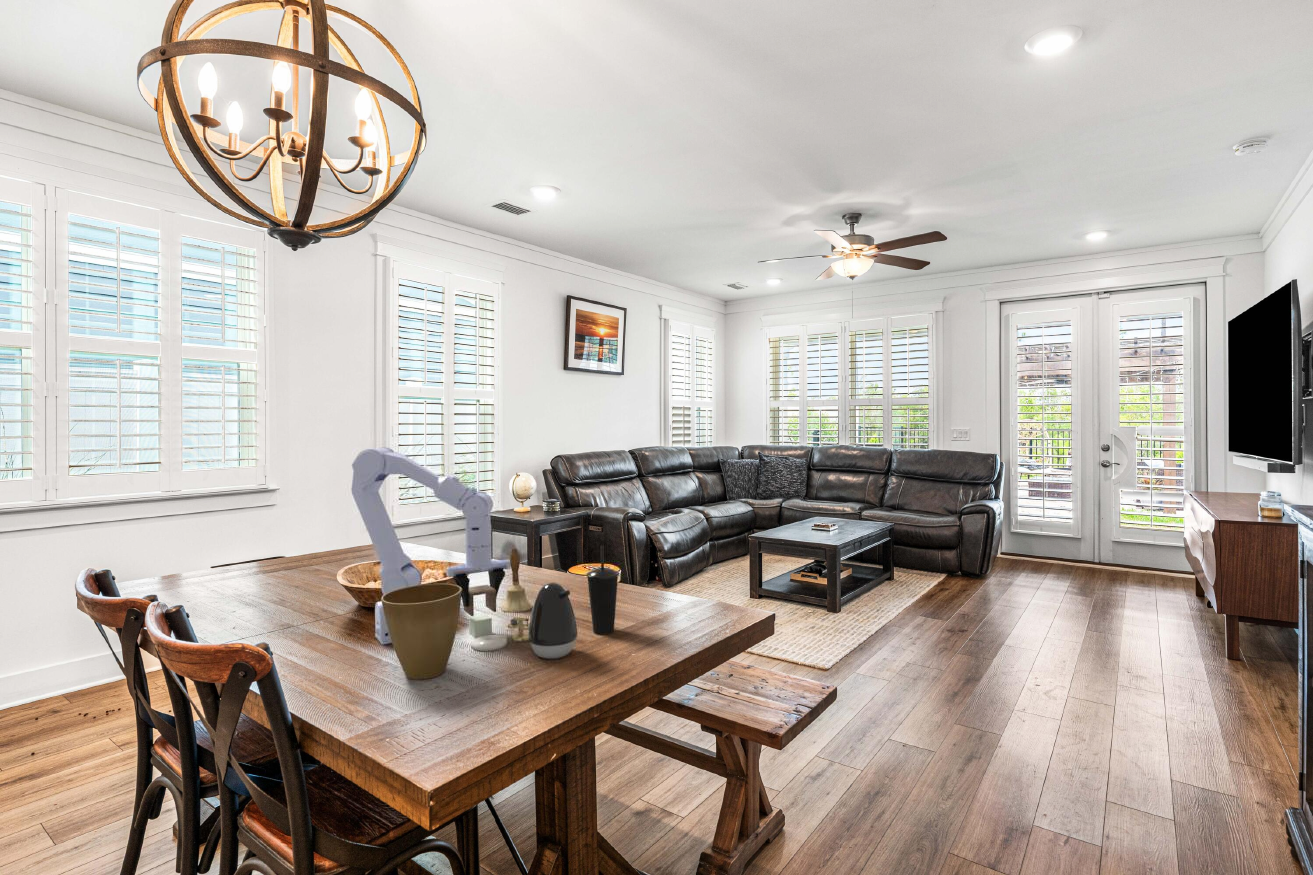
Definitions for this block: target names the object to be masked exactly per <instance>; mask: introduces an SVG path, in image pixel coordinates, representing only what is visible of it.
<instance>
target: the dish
mask: <svg viewBox="0 0 1313 875" xmlns="http://www.w3.org/2000/svg"><path fill="white" fill-rule="evenodd" d="M507 641H508V638H507V637H506V636H505V635H499V634H492V635H487V636H481V637H478V638H474V639H472V640H471V643H470V644H471V649H472V650H473V651H477V652H491V651H495V650H496V651H497V650H500V649H502V648H505V647H506V646H507V644H508V642H507Z"/></svg>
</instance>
